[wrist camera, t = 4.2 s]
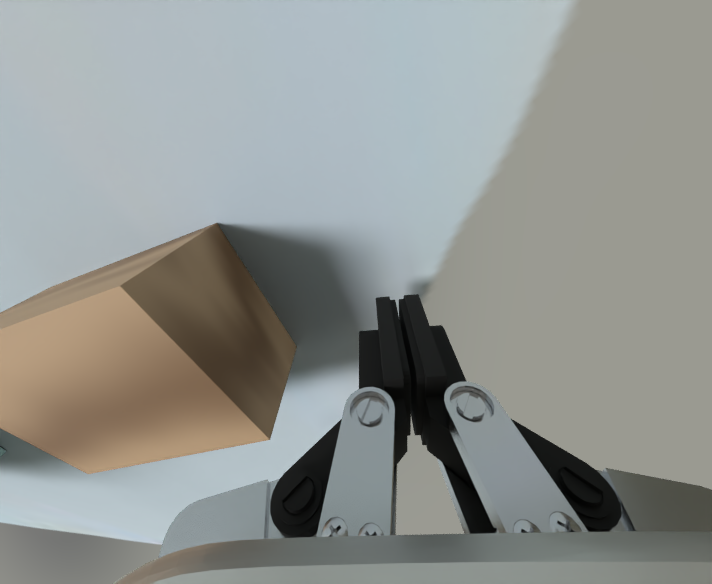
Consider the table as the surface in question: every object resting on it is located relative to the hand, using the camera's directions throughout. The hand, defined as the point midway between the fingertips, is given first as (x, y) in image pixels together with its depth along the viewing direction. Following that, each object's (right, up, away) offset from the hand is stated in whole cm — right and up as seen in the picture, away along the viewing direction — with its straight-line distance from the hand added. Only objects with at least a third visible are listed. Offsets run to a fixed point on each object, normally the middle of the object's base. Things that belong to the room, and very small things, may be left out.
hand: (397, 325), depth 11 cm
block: (-10, 0, +2) cm, 10 cm away
